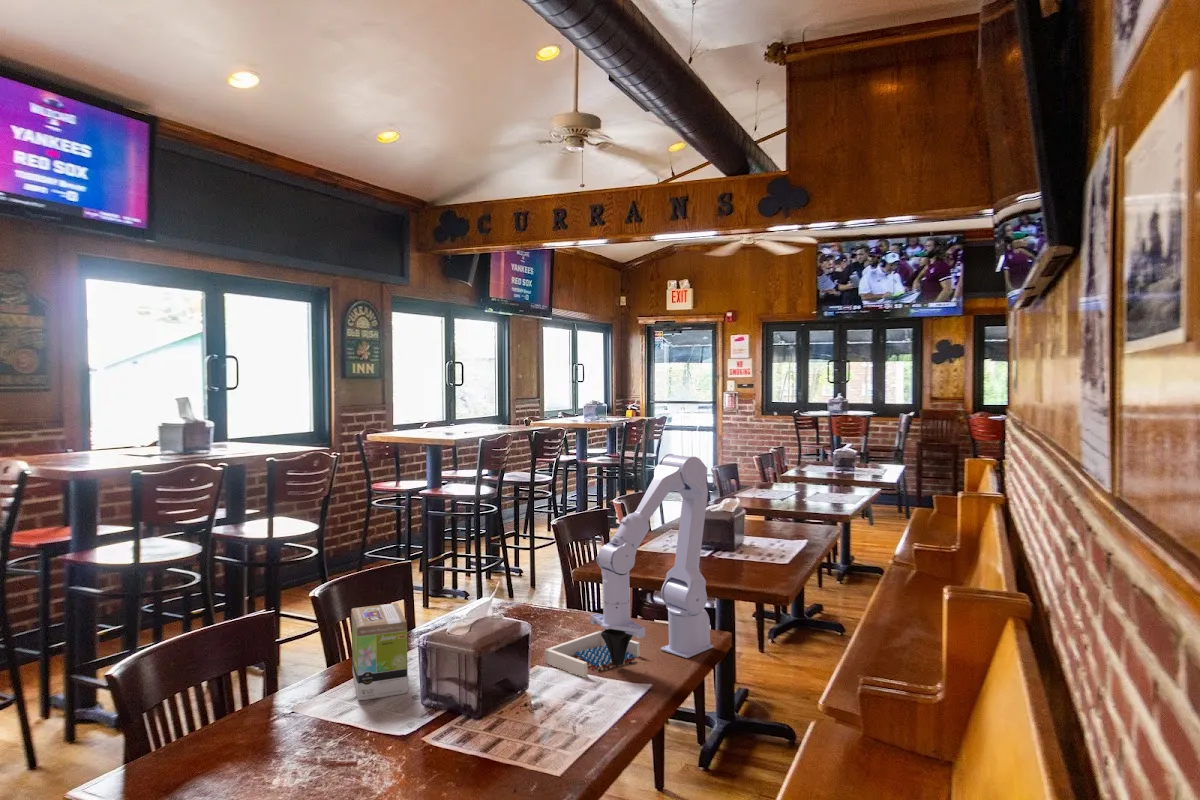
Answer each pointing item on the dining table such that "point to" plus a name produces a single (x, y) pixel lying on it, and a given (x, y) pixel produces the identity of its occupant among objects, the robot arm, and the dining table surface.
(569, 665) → the frame
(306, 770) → the dining table surface
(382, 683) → the tea box
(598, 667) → the woven mat
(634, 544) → the robot arm
